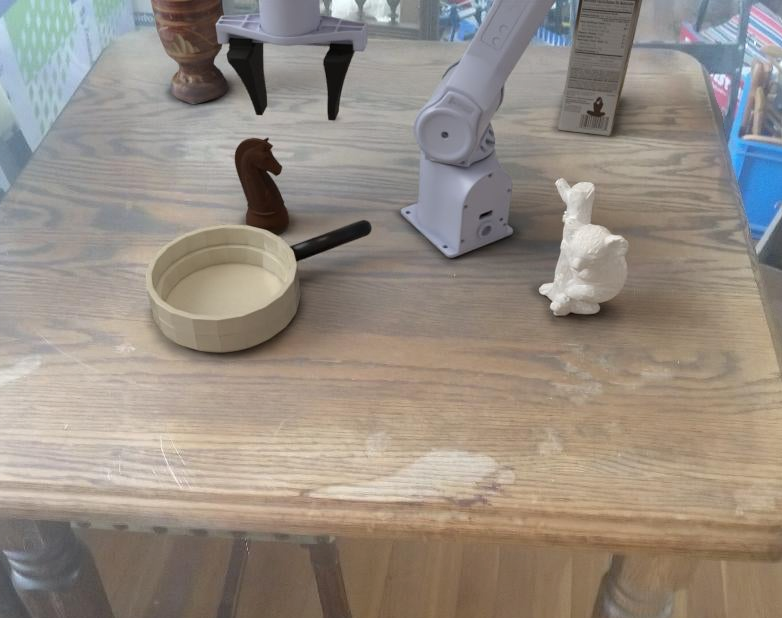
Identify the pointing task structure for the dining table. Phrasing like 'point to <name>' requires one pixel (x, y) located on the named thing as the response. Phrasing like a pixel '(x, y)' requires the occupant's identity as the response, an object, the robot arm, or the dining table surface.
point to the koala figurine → (585, 257)
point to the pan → (223, 287)
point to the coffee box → (598, 64)
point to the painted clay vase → (192, 46)
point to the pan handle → (331, 239)
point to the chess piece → (261, 185)
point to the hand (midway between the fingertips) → (297, 113)
